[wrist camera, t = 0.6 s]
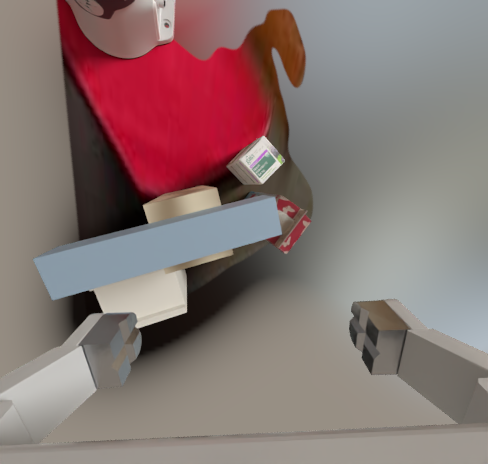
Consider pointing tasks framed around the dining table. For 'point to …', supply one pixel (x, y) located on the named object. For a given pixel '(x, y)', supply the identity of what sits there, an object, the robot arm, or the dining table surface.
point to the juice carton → (286, 222)
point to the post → (182, 205)
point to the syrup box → (256, 162)
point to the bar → (156, 245)
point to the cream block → (146, 296)
